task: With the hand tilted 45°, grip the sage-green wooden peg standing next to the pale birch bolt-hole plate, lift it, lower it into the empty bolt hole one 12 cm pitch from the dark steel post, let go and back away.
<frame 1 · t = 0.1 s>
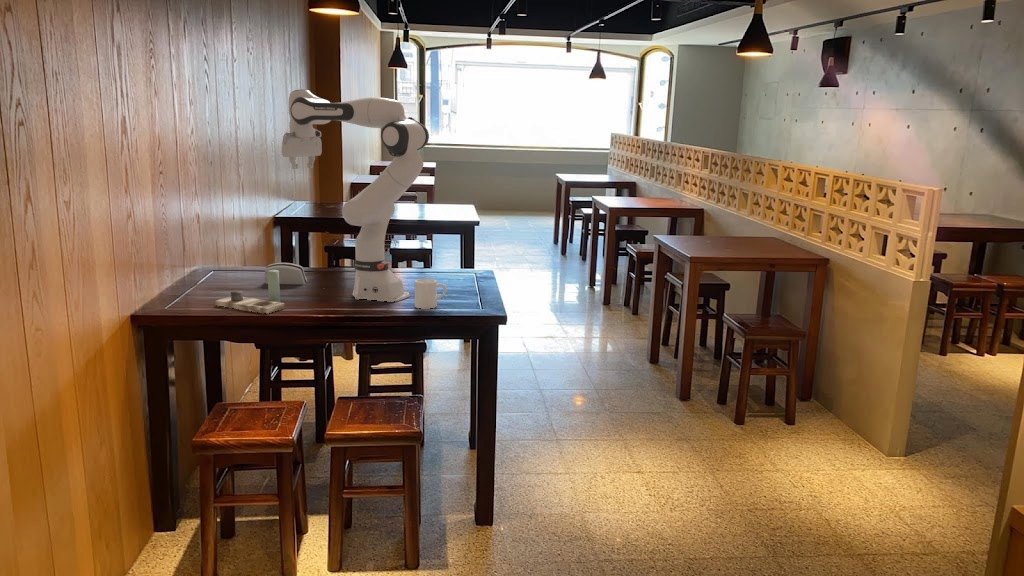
hand: (302, 168, 291), 48 cm above the table, tool pointing down, fingers open, 8 cm apart
hole plate: (250, 307, 267), on the table
peg: (274, 302, 275), on the table
mug: (431, 307, 274), on the table
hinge: (285, 284, 306), on the table
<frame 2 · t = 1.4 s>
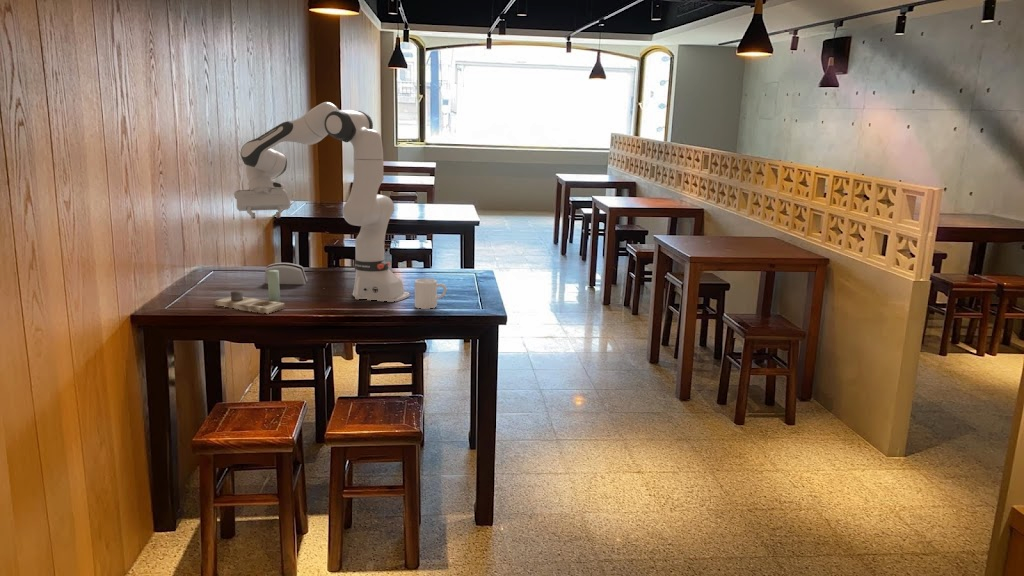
hand: (266, 217, 288), 29 cm above the table, tool tilted 45°, fingers open, 8 cm apart
nothing on the table moved.
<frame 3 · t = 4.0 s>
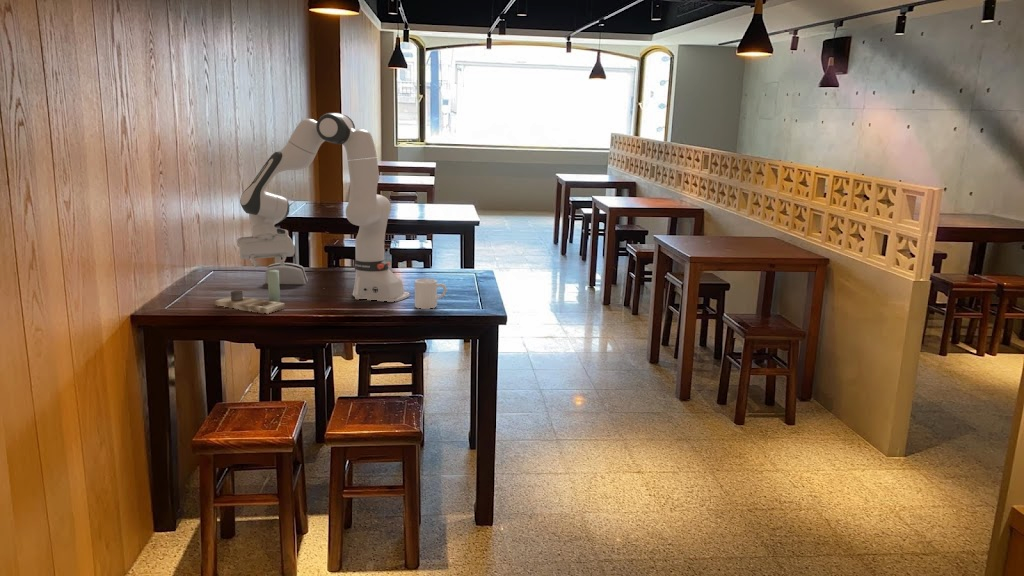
hand: (269, 265, 279), 13 cm above the table, tool tilted 45°, fingers open, 8 cm apart
nothing on the table moved.
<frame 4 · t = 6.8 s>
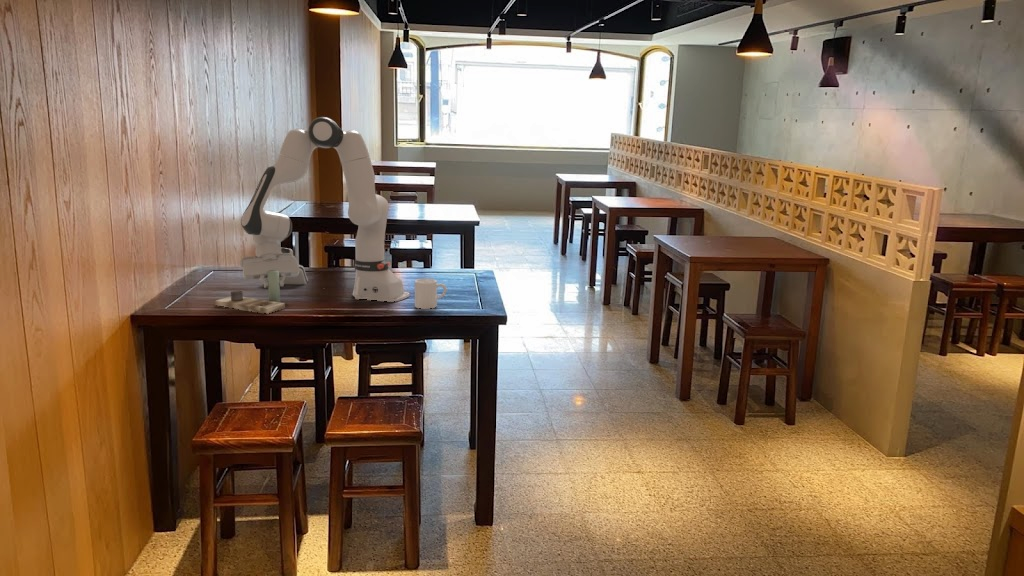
hand: (274, 286, 273), 6 cm above the table, tool tilted 45°, fingers closed on peg, 4 cm apart
peg: (274, 302, 275), on the table, touching gripper
everything else where it was.
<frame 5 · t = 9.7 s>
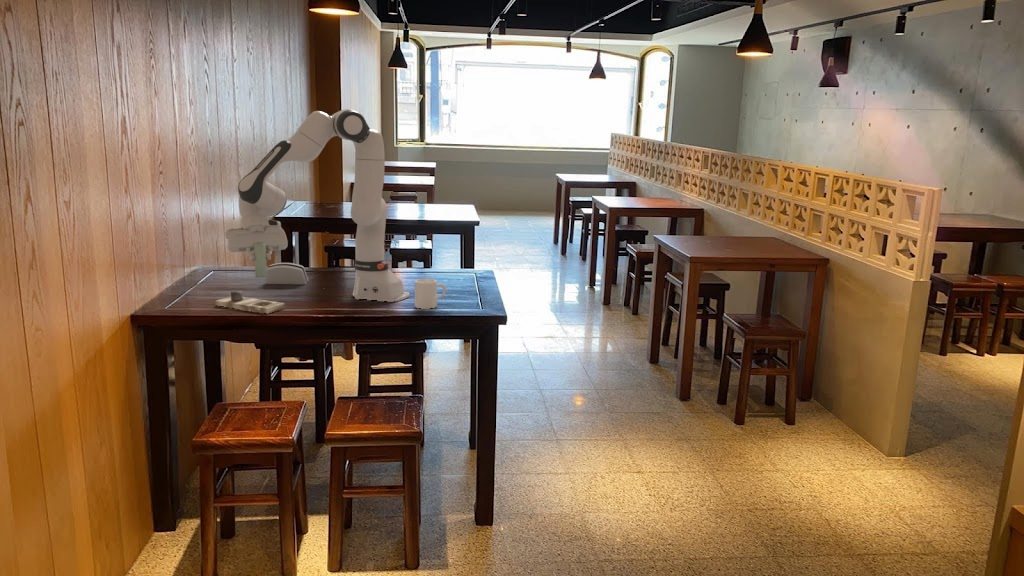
hand: (260, 259, 261), 18 cm above the table, tool tilted 45°, fingers closed on peg, 4 cm apart
peg: (261, 276, 263), point 12 cm above the table, touching gripper
everything else where it was.
when the fingers open (8 cm above the table, at t = 12.9 s): peg drops 1 cm, resting in hole plate.
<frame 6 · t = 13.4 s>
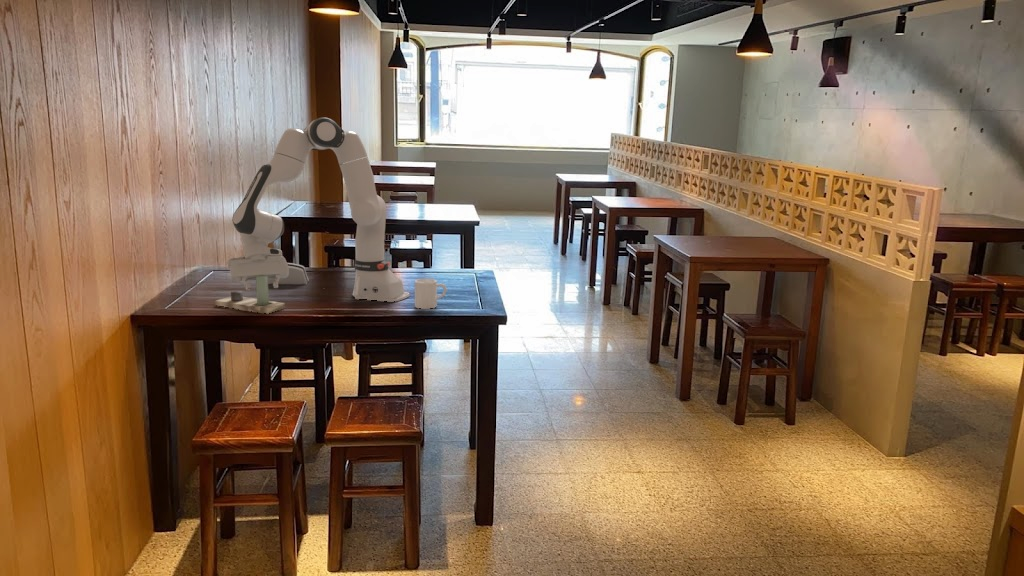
hand: (262, 288, 263), 8 cm above the table, tool tilted 45°, fingers open, 8 cm apart
peg: (263, 309, 265), resting in hole plate
everything else where it was.
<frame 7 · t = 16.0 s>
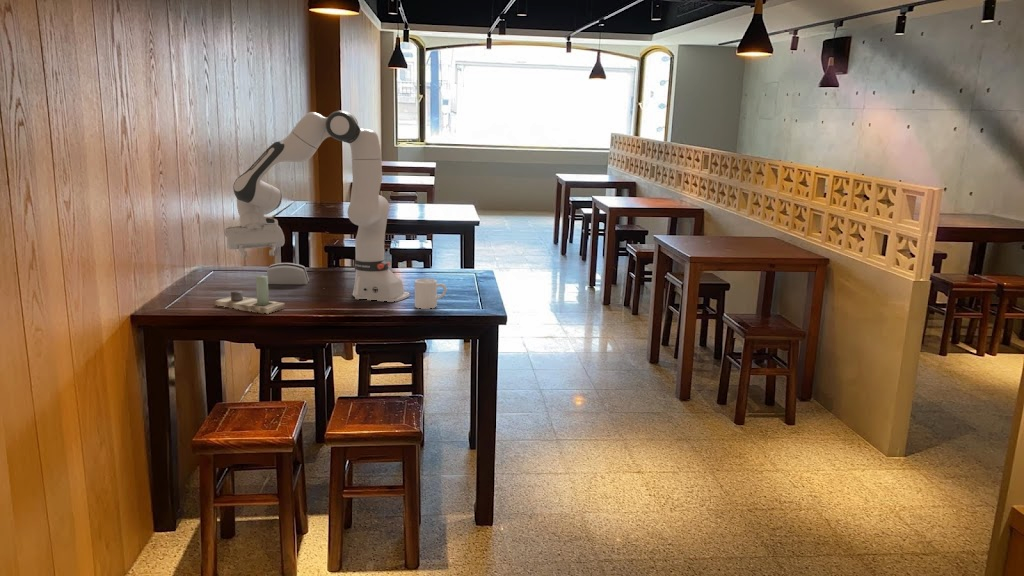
hand: (258, 255, 270), 18 cm above the table, tool tilted 45°, fingers open, 8 cm apart
nothing on the table moved.
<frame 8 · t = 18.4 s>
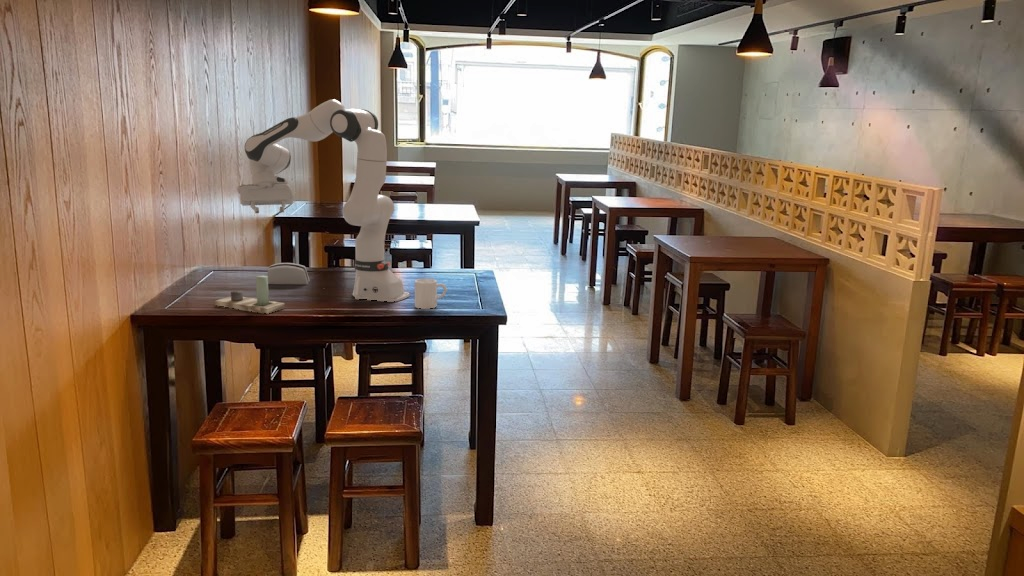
hand: (269, 212, 286), 31 cm above the table, tool tilted 45°, fingers open, 8 cm apart
at the end: peg 0.1 cm from the target spot, resting in hole plate; peg tilted 0°; the gripper is holding nothing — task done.
